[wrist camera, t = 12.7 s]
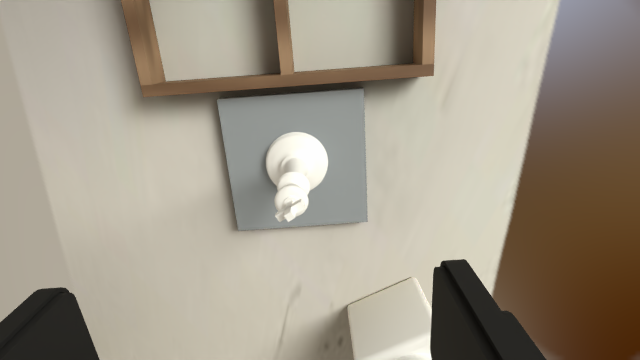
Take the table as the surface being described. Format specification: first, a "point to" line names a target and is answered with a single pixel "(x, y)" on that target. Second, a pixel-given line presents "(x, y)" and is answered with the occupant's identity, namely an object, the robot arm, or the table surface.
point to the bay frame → (154, 79)
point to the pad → (296, 116)
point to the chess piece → (295, 171)
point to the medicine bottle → (392, 324)
